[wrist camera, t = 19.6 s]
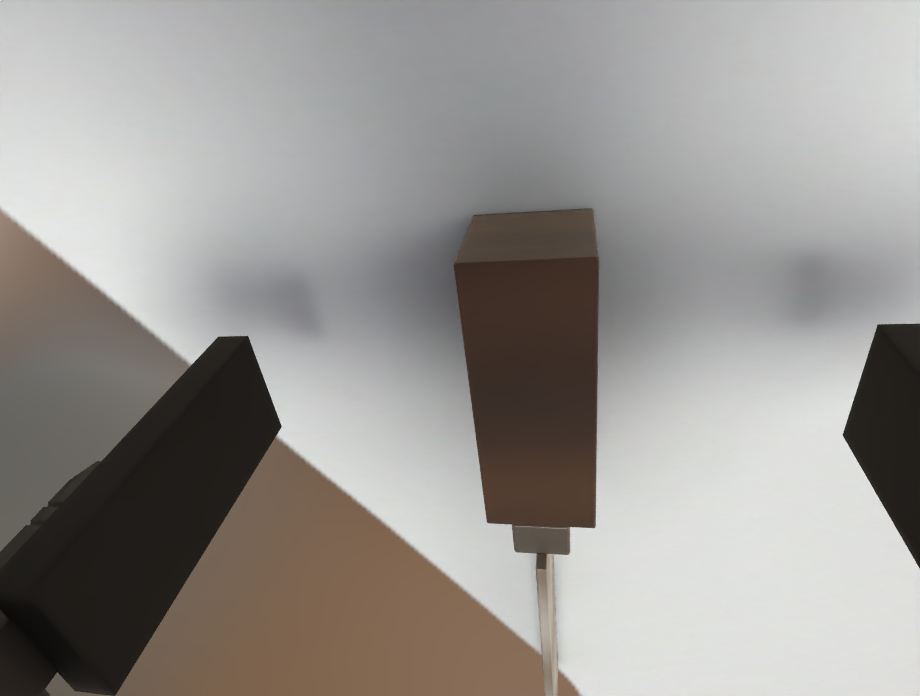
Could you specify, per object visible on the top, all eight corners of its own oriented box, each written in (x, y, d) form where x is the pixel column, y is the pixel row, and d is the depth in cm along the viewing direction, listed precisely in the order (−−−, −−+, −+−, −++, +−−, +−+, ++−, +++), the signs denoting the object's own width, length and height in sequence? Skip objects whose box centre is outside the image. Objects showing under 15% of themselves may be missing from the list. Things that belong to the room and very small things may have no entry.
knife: (472, 214, 15) (448, 273, 12) (593, 207, 14) (600, 267, 11) (519, 661, 25) (513, 750, 22) (590, 667, 25) (593, 760, 22)
